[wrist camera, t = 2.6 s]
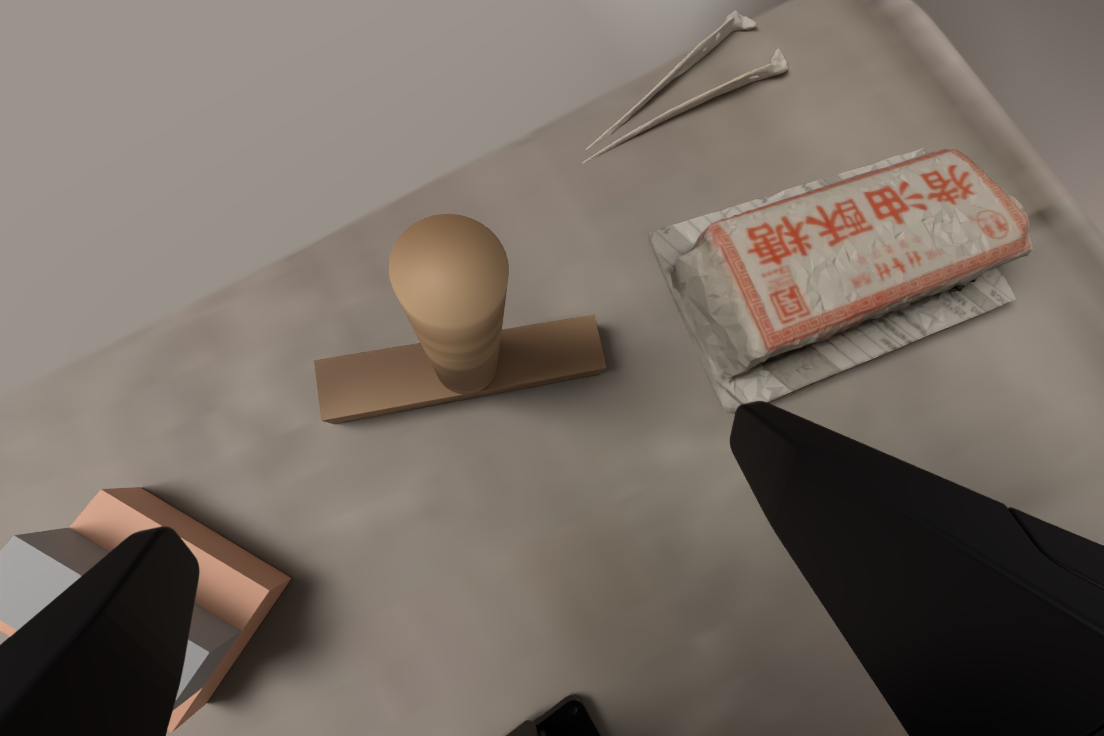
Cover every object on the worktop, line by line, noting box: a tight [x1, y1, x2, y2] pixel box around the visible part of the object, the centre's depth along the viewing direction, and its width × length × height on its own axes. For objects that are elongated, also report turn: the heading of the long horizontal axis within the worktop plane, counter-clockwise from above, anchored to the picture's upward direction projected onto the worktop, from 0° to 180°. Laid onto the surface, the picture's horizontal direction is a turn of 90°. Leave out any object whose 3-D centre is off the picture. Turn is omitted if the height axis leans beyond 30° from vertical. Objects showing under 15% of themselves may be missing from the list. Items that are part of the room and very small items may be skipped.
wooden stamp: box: [314, 214, 607, 424], centre depth 16 cm, size 3×12×12 cm, turn 102°
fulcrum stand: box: [0, 487, 291, 733], centre depth 16 cm, size 7×5×4 cm
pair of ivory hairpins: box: [583, 11, 788, 163], centre depth 26 cm, size 17×5×2 cm, turn 129°
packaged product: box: [649, 148, 1033, 412], centre depth 24 cm, size 18×5×10 cm
